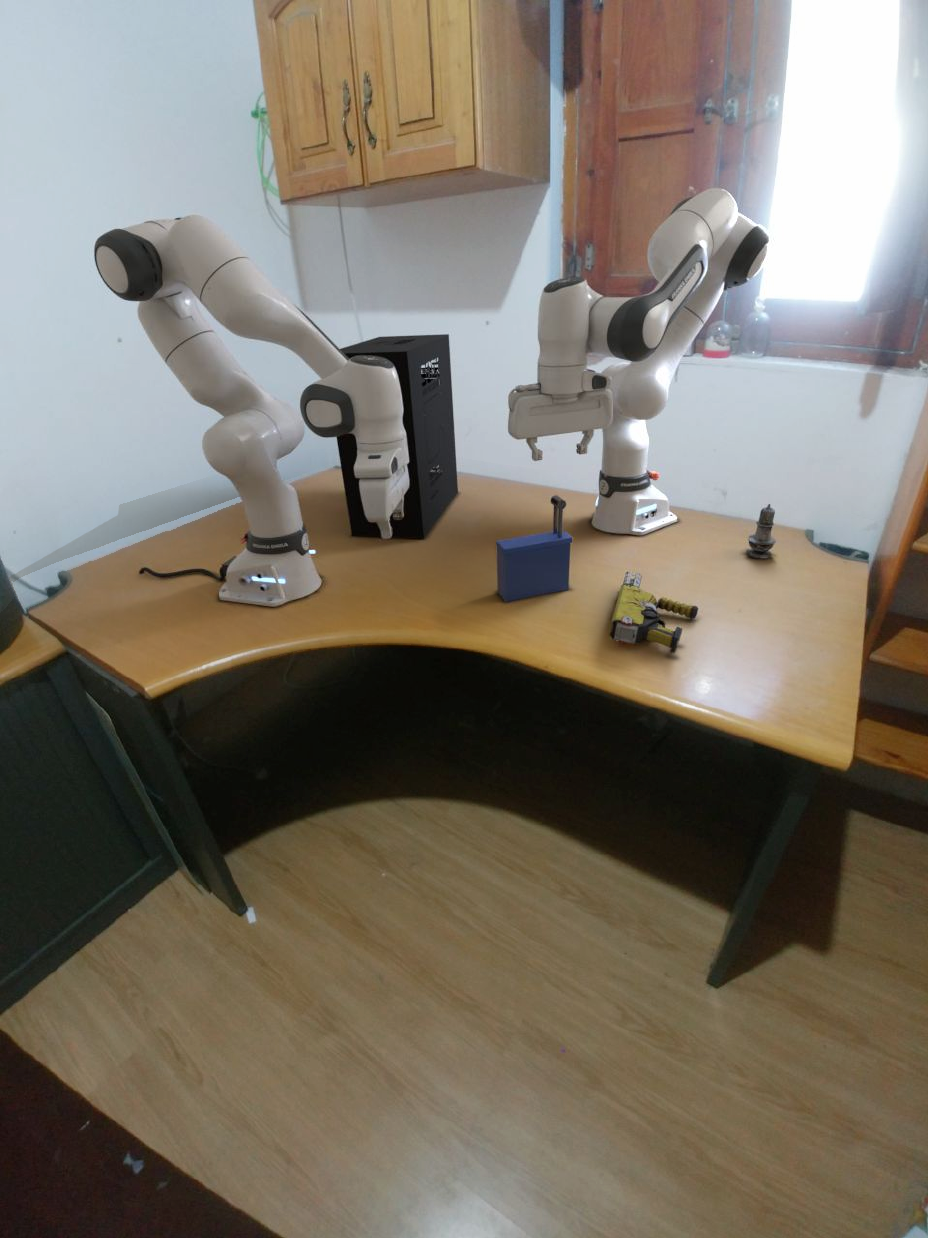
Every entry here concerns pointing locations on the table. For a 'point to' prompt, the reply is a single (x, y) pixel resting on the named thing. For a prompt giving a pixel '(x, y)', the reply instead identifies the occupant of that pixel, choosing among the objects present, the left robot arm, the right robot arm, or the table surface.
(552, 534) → the lid
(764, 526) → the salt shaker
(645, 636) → the toy gun
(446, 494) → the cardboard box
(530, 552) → the chest
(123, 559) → the table surface
